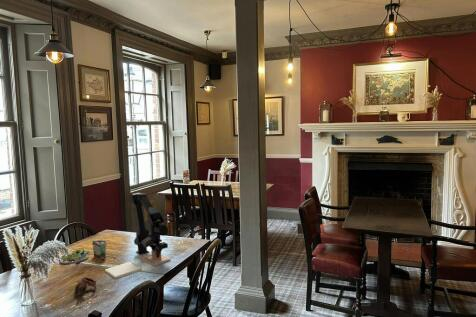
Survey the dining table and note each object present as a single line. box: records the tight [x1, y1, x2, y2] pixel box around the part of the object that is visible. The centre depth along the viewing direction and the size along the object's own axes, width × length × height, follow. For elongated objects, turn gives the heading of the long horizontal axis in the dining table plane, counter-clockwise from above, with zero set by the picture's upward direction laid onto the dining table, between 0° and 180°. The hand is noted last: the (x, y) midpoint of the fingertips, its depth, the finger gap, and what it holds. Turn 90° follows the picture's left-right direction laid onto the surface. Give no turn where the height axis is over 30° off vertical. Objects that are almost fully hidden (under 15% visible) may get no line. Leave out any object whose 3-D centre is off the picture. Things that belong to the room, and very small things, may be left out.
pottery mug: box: [73, 277, 97, 297], centre depth 171 cm, size 12×10×8 cm
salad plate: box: [59, 247, 91, 265], centre depth 217 cm, size 19×18×5 cm
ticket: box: [104, 261, 143, 280], centre depth 197 cm, size 14×16×1 cm
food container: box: [91, 239, 108, 261], centre depth 219 cm, size 12×6×10 cm, turn 47°
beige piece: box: [142, 249, 171, 267], centre depth 212 cm, size 14×11×6 cm
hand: (156, 256), depth 212 cm, fingers closed on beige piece, 3 cm apart
